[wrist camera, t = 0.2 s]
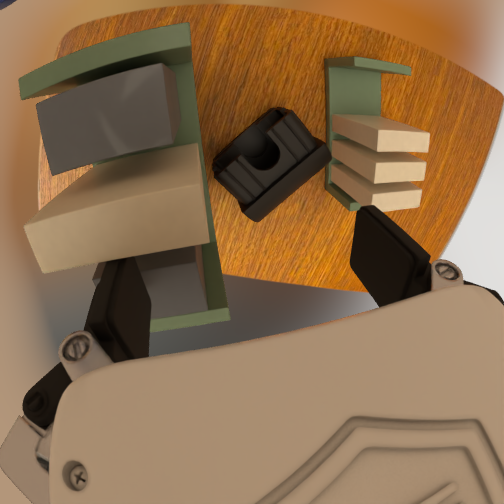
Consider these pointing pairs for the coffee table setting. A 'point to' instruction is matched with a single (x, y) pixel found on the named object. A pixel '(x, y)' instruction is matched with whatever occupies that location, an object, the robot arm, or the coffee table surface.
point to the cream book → (123, 211)
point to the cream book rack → (369, 139)
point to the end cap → (269, 162)
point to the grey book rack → (135, 147)
